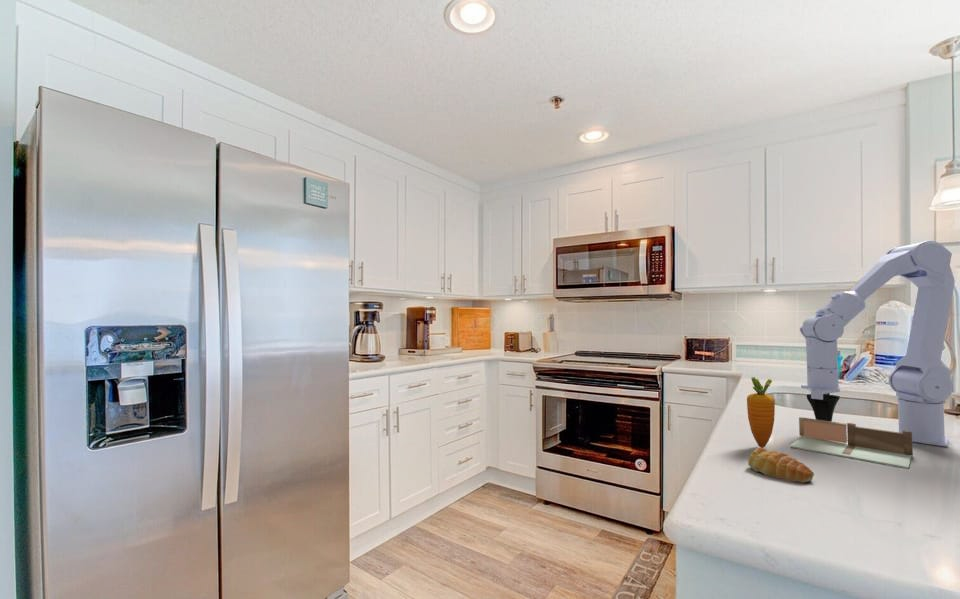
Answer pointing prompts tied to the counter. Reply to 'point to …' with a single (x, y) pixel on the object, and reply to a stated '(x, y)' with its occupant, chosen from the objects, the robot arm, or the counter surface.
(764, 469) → the pastry
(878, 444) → the fence fixed
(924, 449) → the counter surface
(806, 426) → the hinged panel
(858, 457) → the card
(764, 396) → the carrot
